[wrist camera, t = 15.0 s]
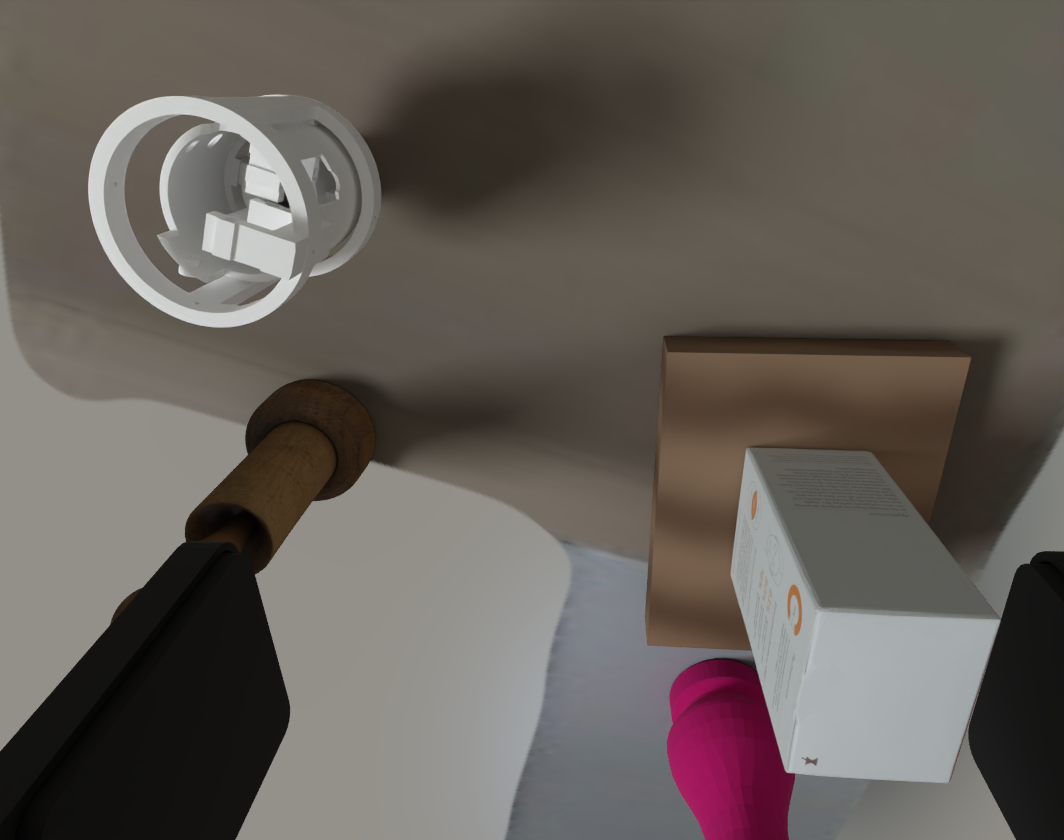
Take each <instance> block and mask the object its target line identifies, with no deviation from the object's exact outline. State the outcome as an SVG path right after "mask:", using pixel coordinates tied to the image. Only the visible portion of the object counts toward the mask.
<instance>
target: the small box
mask: <svg viewBox="0 0 1064 840" xmlns="http://www.w3.org/2000/svg"><path fill="white" fill-rule="evenodd" d="M731 578H732V581H733V585H734V589H735V592H736V596H737V599H738V603H739V606H740V609H741V613H742V616H743V619H744V623H745V626H746V630H747V634H748V637H749V641H750V645H751V648H752V652H753V656H754V660H755V664H756V667H757V671H758V675H759V679H760V682H761V686H762V690H763V693H764V697H765V701H766V704H767V707H768V711H769V715H770V718H771V722H772V726H773V729H774V733H775V736H776V740H777V744H778V747H779V751H780V754H781V758H782V762H783V765H784V769H785V771H786V772H787V773H796V774H807V775H817V776H830V777H845V778H861V779H878V780H898V781H915V782H939V783H948V782H950V780H951V777H952V774H953V770H954V767H955V764H956V761H957V758H958V755H959V752H960V748H961V745H962V742H963V739H964V736H965V732H966V730H967V726H968V723H969V720H970V716H971V713H972V710H973V707H974V704H975V701H976V698H977V695H978V692H979V689H980V686H981V683H982V679H983V676H984V673H985V670H986V666H987V663H988V660H989V657H990V654H991V651H992V648H993V645H994V642H995V638H996V635H997V632H998V628H999V625H1000V622H1001V618H1000V617H999V616H998V615H997V613H996V612H995V611H994V610H993V608H992V607H991V606H990V604H989V603H988V602H987V601H986V599H985V598H984V597H983V595H982V594H981V593H980V591H979V590H978V589H977V588H976V586H975V585H974V584H973V582H972V581H971V580H970V578H969V577H968V576H967V575H966V573H965V572H964V571H963V569H962V568H961V567H960V565H959V564H958V563H957V562H956V561H955V559H954V558H953V557H952V555H951V554H950V553H949V551H948V550H947V549H946V547H945V546H944V545H943V544H942V542H941V541H940V540H939V538H938V537H937V536H936V535H935V533H934V532H933V531H932V529H931V528H930V527H929V525H928V524H927V523H926V522H925V520H924V519H923V518H922V516H921V515H920V514H919V513H918V511H917V510H916V509H915V507H914V506H913V505H912V503H911V502H910V501H909V500H908V498H907V497H906V496H905V494H904V493H903V492H902V490H901V489H900V488H899V487H898V485H897V484H896V483H895V481H894V480H893V479H892V478H891V477H890V475H889V474H888V472H887V471H886V470H885V468H884V467H883V466H882V465H881V463H880V462H879V461H878V460H877V458H876V457H875V456H874V454H873V453H872V452H868V451H851V450H816V449H791V448H751V447H750V448H747V449H746V454H745V462H744V469H743V476H742V484H741V491H740V499H739V507H738V515H737V523H736V531H735V539H734V547H733V556H732V565H731Z"/></svg>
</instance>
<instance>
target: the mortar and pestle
mask: <svg viewBox="0 0 1064 840" xmlns="http://www.w3.org/2000/svg"><path fill="white" fill-rule="evenodd" d="M245 437H246V438H245V441H246V448H247V452H248V456H247V457H246V458H245V459H244V460H243V461H242V462H241V463H240V464H239V465H238V466H237V467H236V468H235V469H234V470H233V471H232V472H231V473H230V474H229V475H228V476H227V477H226V478H225V479H224V480H223V481H222V482H221V483H220V484H219V485H218V486H217V487H216V488H215V489H214V490H213V491H212V492H211V493H210V494H209V495H208V496H207V497H206V498H205V499H204V500H203V501H202V502H201V503H200V504H199V506H197V507H196V508H195V510H194V511H193V512H192V513H191V514H190V516H189V518H188V520H187V522H186V526H185V538H186V542H189V541H203V542H230V543H233V544H234V545H235V546H236V547H237V548H238V551H239V553H243V554H247V556H248V557H249V558H250V560H251V563H252V566H253V570H254V574H257V573H259V572H260V571H261V570H263V569H264V568H265V567H266V566H267V565H268V563H269V562H270V560H271V559H272V557H273V556H274V555H275V553H276V552H277V550H278V549H279V547H280V546H281V545H282V543H283V542H284V540H285V539H286V537H287V536H288V534H289V533H290V532H291V530H292V529H293V527H294V526H295V525H296V523H297V522H298V520H299V519H300V517H301V516H302V515H303V513H304V512H305V510H306V509H307V508H308V507H309V505H310V504H311V502H312V501H321V500H327V499H331V498H334V497H336V496H339V495H341V494H343V493H344V492H345V491H347V490H348V489H350V488H351V487H352V486H353V485H354V484H355V482H356V481H357V480H358V478H359V477H360V476H361V474H362V472H363V471H364V470H365V468H366V467H367V465H368V464H369V462H370V460H371V458H372V456H373V453H374V449H375V431H374V427H373V423H372V421H371V418H370V416H369V414H368V413H367V411H366V410H365V408H364V407H363V406H362V405H361V404H360V402H359V401H358V400H356V399H355V398H354V397H353V396H352V395H350V394H349V393H348V392H346V391H344V390H343V389H341V388H339V387H337V386H335V385H332V384H329V383H326V382H322V381H316V380H300V381H295V382H292V383H289V384H286V385H284V386H282V387H281V388H279V389H278V390H276V391H275V392H274V393H273V394H272V395H270V396H269V397H268V398H267V399H266V400H265V401H264V402H263V403H262V404H261V405H260V406H259V407H258V408H257V409H256V410H255V412H254V413H253V415H252V416H251V418H250V420H249V422H248V425H247V429H246V436H245ZM141 589H142V588H141ZM141 589H139V590H137V591H135V592H133V593H132V594H131V595H129V596H128V597H127V598H126V599H125V600H124V601H123V602H122V603H121V604H120V605H119V607H118V608H117V610H116V611H115V613H114V615H113V618H112V621H111V624H112V623H113V621H114V620H115V619H116V618H117V617H118V616H119V614H120V613H121V612H122V611H123V610H124V609H125V608H126V606H127V605H128V604H129V603H130V602H131V601H132V600H133V598H134V597H135V596H136V595H137V594H138V593H139V591H140V590H141ZM111 624H110V625H111Z"/></svg>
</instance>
